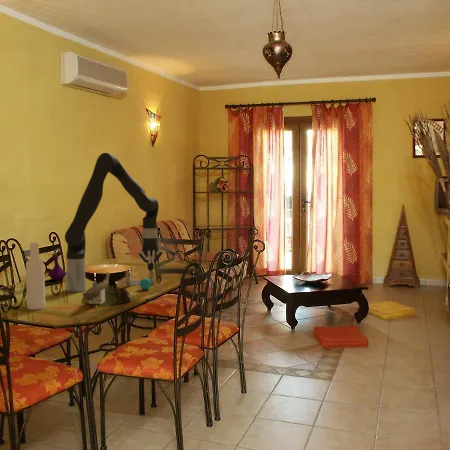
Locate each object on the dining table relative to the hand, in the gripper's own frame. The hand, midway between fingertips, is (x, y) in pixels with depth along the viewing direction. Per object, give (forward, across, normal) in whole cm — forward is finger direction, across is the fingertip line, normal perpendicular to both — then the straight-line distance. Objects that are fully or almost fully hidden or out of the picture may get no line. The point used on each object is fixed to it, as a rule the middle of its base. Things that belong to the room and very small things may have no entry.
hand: (150, 270), depth 268 cm
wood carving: (+12, +28, +6) cm, 31 cm away
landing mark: (+12, 0, -28) cm, 31 cm away
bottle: (+12, +56, +8) cm, 58 cm away
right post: (+12, -6, -21) cm, 25 cm away
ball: (+9, 0, -10) cm, 13 cm away
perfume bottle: (+12, +40, -56) cm, 70 cm away
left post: (+12, +7, -21) cm, 25 cm away
